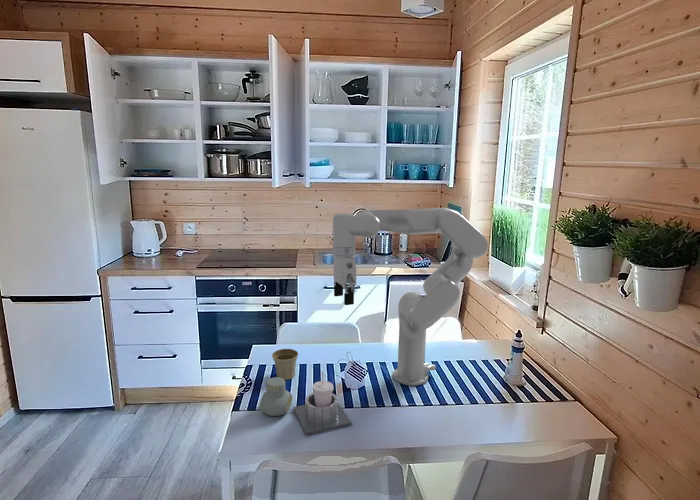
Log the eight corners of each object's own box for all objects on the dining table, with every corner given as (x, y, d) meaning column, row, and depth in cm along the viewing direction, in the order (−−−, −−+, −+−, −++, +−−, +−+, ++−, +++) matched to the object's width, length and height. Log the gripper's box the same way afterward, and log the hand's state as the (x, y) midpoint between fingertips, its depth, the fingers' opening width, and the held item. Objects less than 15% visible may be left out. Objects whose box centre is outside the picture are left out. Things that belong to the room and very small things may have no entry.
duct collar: (335, 401, 142) (335, 384, 141) (351, 425, 130) (351, 407, 128) (293, 410, 137) (293, 392, 136) (306, 436, 124) (305, 417, 123)
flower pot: (267, 379, 155) (266, 357, 154) (281, 368, 164) (280, 346, 162) (290, 385, 152) (290, 362, 150) (303, 372, 161) (303, 351, 159)
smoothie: (329, 407, 137) (329, 366, 134) (336, 418, 131) (336, 375, 128) (310, 411, 135) (309, 369, 132) (315, 422, 129) (315, 379, 126)
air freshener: (284, 422, 131) (283, 391, 129) (257, 419, 132) (256, 389, 130) (294, 402, 141) (293, 374, 139) (269, 400, 143) (268, 371, 140)
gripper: (365, 255, 138) (364, 306, 142) (345, 245, 154) (344, 291, 158) (343, 257, 136) (342, 309, 139) (324, 246, 151) (324, 293, 155)
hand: (343, 300), depth 148 cm, fingers open, 9 cm apart
